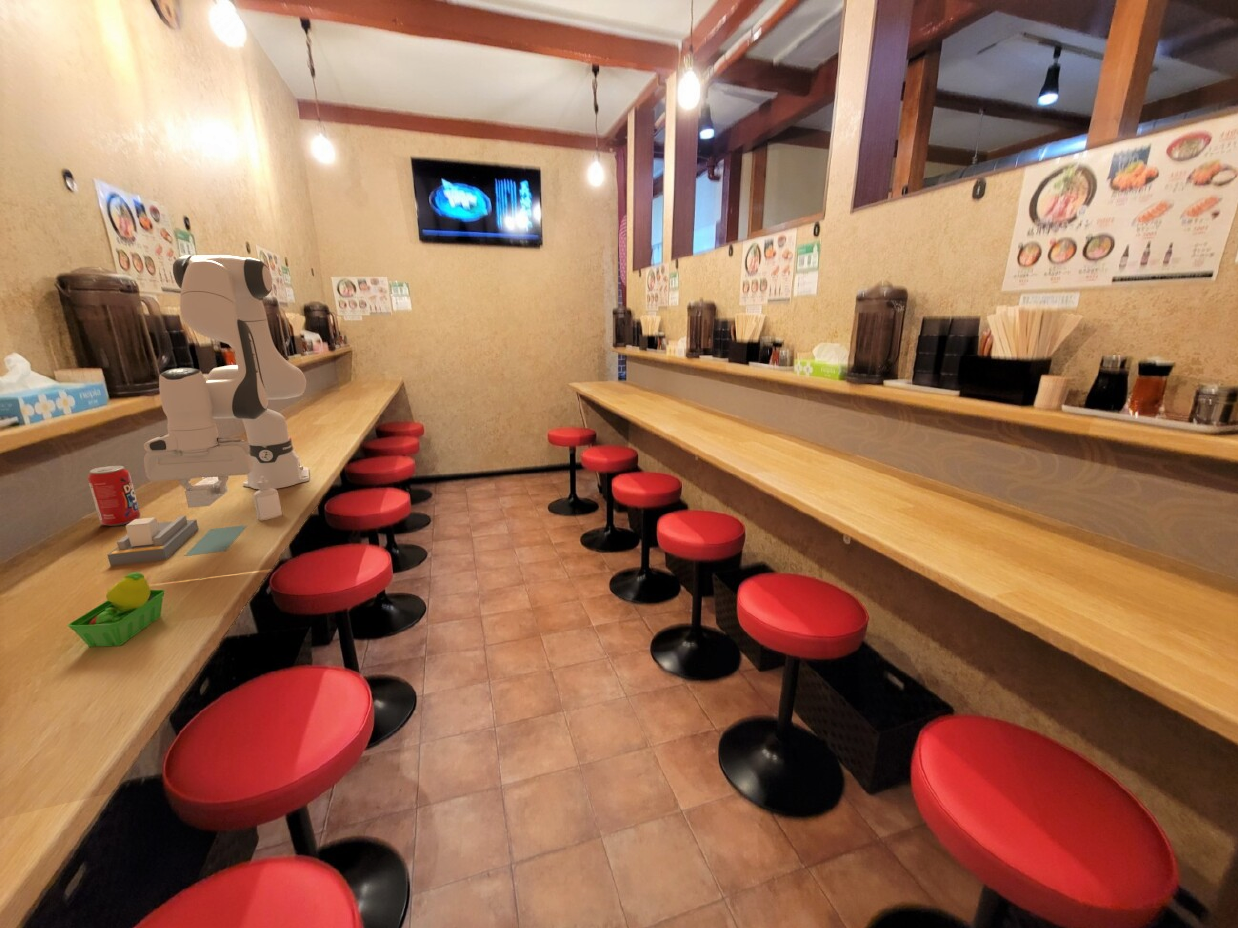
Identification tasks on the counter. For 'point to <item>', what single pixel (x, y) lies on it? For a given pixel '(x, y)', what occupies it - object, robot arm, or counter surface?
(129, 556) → the switch panel
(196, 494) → the bar
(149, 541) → the switch tab
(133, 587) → the fruit basket
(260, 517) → the eye dropper bottle
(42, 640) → the counter surface
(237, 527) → the mat
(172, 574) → the counter surface
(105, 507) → the soda can
